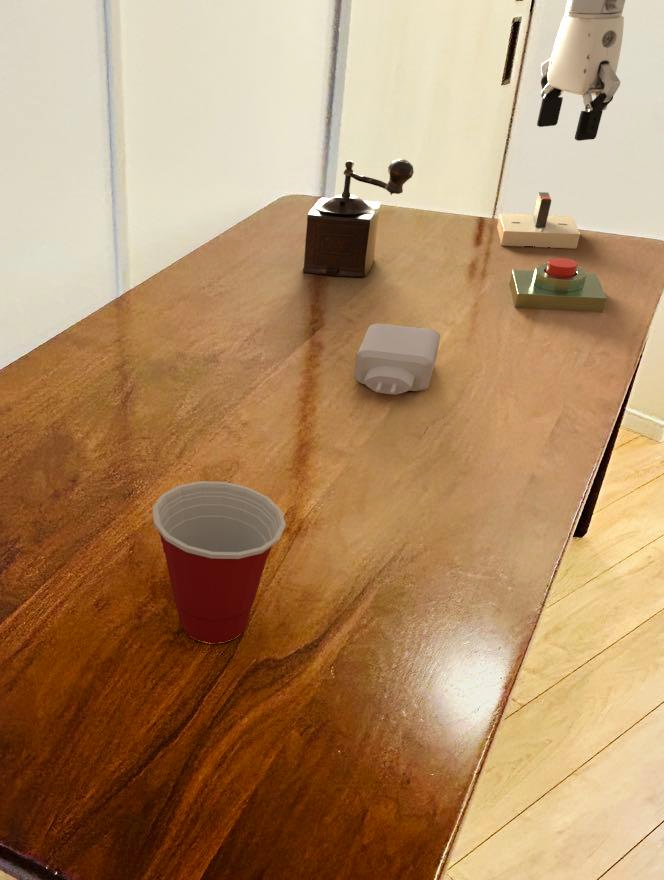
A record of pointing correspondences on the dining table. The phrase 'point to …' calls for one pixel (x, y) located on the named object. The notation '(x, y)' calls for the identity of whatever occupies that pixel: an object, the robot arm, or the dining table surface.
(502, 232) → the cream slotted base block
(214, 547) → the plastic cup
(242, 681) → the dining table surface
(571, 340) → the dining table surface
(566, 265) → the button
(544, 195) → the upright dark panel
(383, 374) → the charger
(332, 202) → the manual coffee grinder
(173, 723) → the dining table surface
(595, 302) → the control block
